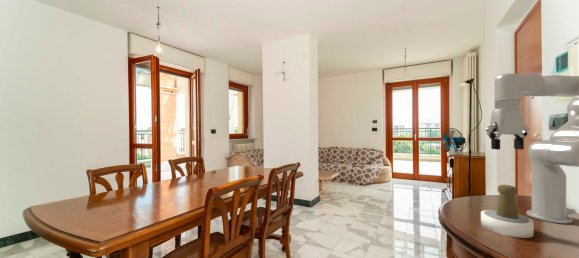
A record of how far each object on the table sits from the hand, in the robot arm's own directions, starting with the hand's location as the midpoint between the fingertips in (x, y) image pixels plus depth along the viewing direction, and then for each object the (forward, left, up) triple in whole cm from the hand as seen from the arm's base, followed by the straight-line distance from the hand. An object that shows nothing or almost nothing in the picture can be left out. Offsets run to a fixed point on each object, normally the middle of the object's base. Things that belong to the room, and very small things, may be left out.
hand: (507, 149), depth 93 cm
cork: (+7, +7, -24) cm, 26 cm away
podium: (+8, +7, -28) cm, 30 cm away
